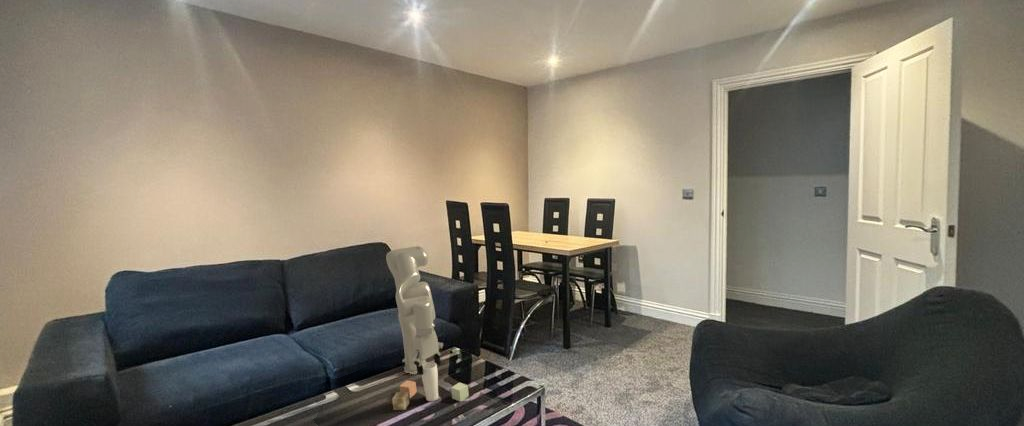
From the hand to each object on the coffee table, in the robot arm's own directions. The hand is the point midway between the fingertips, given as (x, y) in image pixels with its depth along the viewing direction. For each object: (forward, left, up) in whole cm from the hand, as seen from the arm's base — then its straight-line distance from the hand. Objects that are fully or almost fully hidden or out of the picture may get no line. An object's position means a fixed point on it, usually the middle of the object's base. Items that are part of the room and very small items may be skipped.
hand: (429, 369), depth 192 cm
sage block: (+10, +7, -14) cm, 18 cm away
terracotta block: (-12, -3, -14) cm, 19 cm away
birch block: (-7, -11, -14) cm, 19 cm away
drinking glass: (0, 0, -14) cm, 14 cm away
